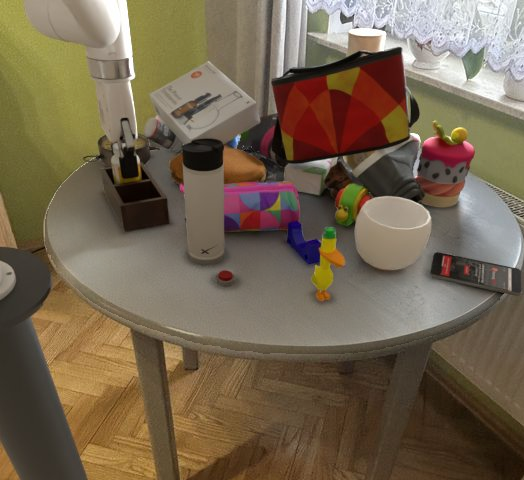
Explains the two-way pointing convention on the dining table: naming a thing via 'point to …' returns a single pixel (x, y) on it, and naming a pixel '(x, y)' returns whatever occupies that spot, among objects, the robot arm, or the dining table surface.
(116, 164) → the supplement bottle
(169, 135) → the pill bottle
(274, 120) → the shoe
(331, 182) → the artifact
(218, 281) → the push button
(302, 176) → the ink box
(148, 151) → the alarm clock
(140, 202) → the rack
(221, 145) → the travel mug
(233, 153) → the pancake
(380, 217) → the cup
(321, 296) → the toy figure
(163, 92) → the skincare box
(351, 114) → the bag
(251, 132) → the dark grey pouch
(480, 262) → the smartphone
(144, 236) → the dining table surface
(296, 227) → the cable holder
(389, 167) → the sneaker
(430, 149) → the cake
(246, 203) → the pencil case
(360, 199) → the green red striped toy
